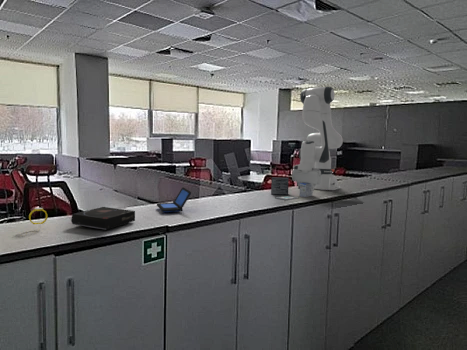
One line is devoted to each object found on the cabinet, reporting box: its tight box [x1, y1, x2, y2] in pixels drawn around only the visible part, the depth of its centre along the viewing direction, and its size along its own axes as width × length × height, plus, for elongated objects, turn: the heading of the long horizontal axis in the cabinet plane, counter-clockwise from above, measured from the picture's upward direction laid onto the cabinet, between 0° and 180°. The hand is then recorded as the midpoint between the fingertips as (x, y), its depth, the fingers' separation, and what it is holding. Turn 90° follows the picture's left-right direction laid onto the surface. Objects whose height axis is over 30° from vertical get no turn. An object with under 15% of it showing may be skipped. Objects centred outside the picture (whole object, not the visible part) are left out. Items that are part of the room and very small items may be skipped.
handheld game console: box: [156, 187, 192, 213], centre depth 171 cm, size 16×13×9 cm
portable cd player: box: [70, 206, 136, 231], centre depth 141 cm, size 16×17×4 cm
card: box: [274, 195, 299, 201], centre depth 209 cm, size 12×8×1 cm, turn 129°
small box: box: [270, 176, 290, 196], centre depth 223 cm, size 11×6×10 cm, turn 84°
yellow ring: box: [28, 207, 48, 225], centre depth 134 cm, size 6×3×6 cm, turn 127°
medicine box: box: [299, 182, 314, 198], centre depth 218 cm, size 8×4×9 cm, turn 134°
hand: (305, 190), depth 218 cm, fingers open, 8 cm apart
